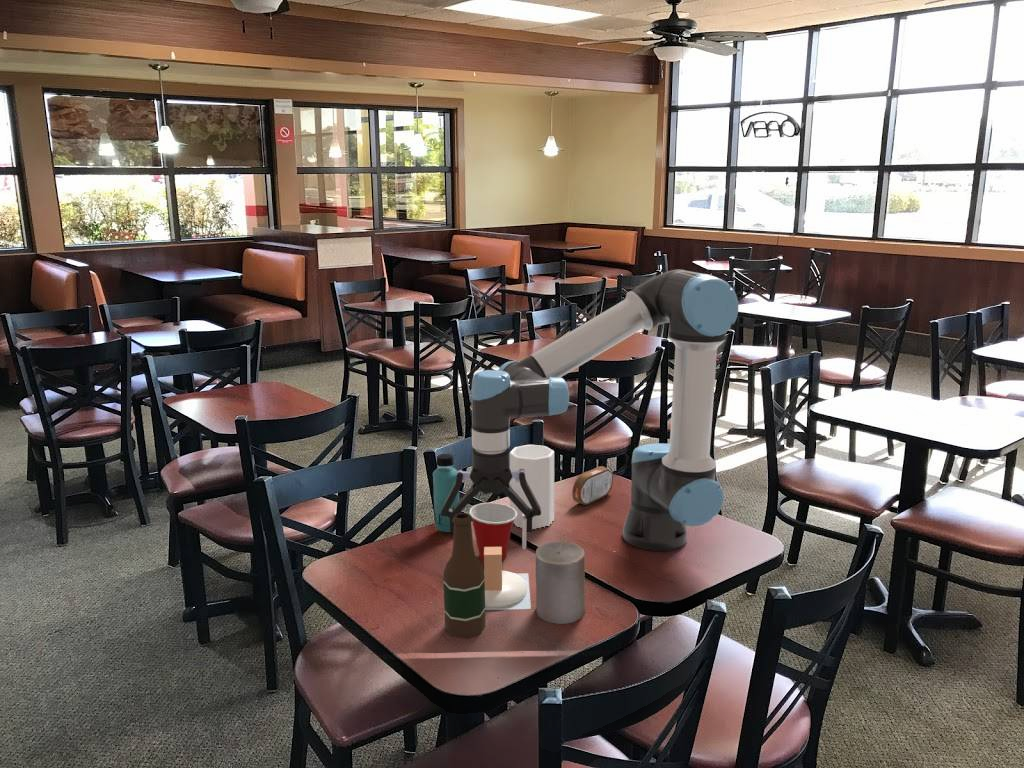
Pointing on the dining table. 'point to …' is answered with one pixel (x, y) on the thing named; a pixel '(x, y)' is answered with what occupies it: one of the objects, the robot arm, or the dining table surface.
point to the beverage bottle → (443, 489)
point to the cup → (534, 481)
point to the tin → (592, 485)
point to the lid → (501, 581)
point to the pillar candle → (560, 582)
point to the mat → (523, 603)
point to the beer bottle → (464, 584)
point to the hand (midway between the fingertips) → (491, 546)
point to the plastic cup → (492, 526)
